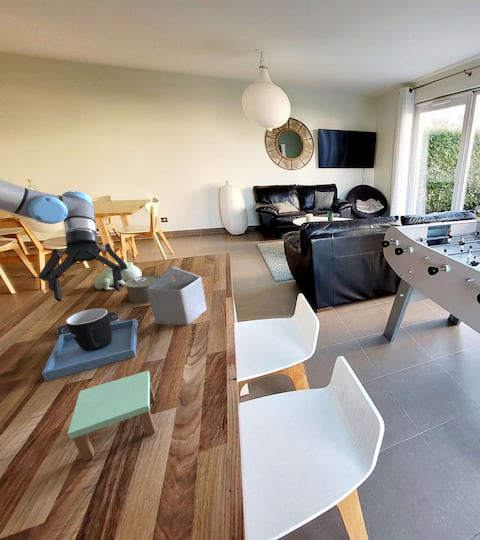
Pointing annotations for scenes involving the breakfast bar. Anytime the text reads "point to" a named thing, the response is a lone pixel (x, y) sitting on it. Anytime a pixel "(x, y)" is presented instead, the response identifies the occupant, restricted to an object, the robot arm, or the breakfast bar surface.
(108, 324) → the mug
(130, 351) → the tray
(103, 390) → the stool
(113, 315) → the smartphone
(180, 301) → the planter
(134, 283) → the can
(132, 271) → the figurine
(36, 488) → the breakfast bar surface
